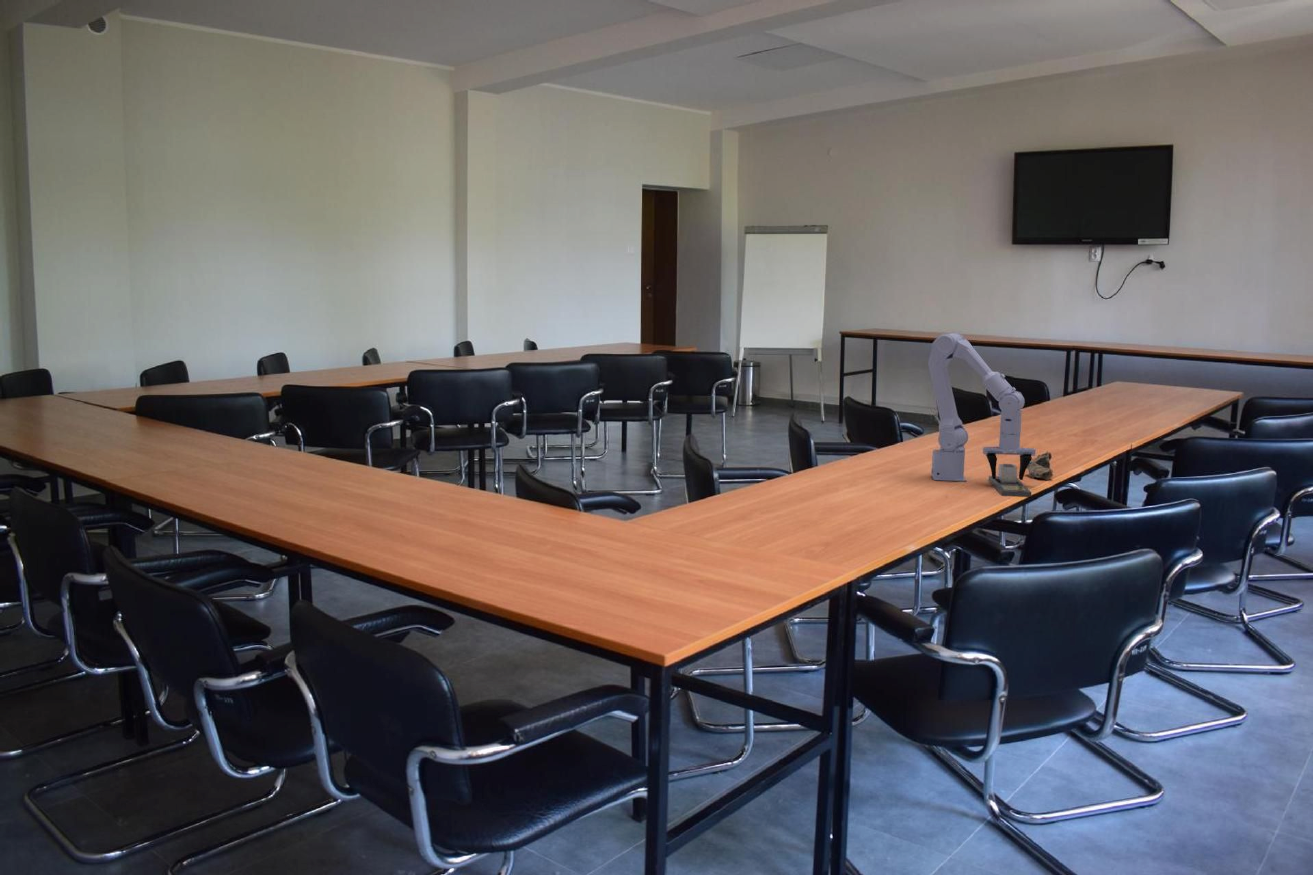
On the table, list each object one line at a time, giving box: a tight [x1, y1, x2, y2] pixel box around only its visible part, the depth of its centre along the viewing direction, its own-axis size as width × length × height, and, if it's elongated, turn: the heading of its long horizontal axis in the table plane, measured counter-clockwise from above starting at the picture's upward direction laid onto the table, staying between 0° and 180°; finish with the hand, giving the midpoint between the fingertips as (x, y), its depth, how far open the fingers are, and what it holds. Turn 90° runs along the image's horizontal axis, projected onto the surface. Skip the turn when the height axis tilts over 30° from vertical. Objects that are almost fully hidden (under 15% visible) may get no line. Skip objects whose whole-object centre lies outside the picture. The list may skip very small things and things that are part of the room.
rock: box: [1026, 451, 1054, 481], centre depth 318 cm, size 9×7×10 cm
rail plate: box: [988, 475, 1032, 498], centre depth 302 cm, size 8×22×1 cm, turn 172°
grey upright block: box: [998, 463, 1018, 484], centre depth 305 cm, size 4×4×6 cm
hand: (1007, 478), depth 305 cm, fingers open, 7 cm apart
